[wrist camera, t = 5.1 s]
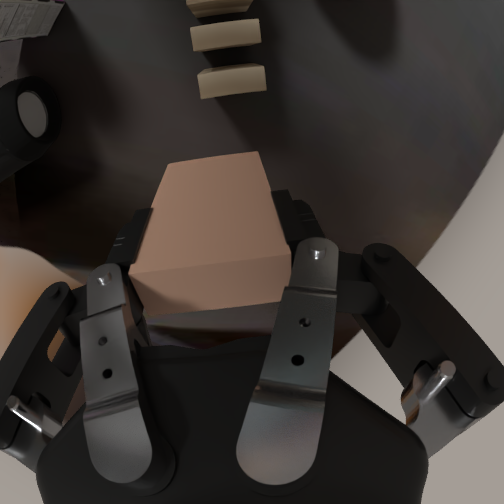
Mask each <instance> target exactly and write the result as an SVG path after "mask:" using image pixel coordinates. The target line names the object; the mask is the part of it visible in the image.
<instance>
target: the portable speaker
mask: <svg viewBox="0 0 504 504" xmlns="http://www.w3.org/2000/svg"><path fill="white" fill-rule="evenodd" d="M60 128H61V112H60V107H59V103H58V100H57V98H56V96H55V94H54V92H53V90H52V89H51V87H50V86H49V85H48V84H47V83H46V82H45V81H44V80H43V79H41V78H39V77H36V76H28V77H24V78H21V79H17V80H14V81H11V82H8V83H7V84H5V85H3V86H2V87H1V88H0V182H1V181H3V180H4V179H6V178H7V177H9V176H10V175H12V174H13V173H15V172H16V171H18V170H20V169H21V168H23V167H24V166H26V165H28V164H29V163H31V162H33V161H34V160H37V159H39V158H40V157H41V156H42V155H43V154H44V153H45V152H46V151H47V149H48V148H49V147H50V146H51V144H52V143H53V142H54V141H55V139H56V138H57V136H58V134H59V132H60Z"/></svg>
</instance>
